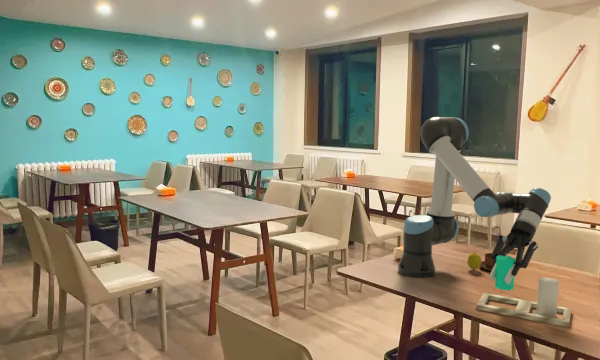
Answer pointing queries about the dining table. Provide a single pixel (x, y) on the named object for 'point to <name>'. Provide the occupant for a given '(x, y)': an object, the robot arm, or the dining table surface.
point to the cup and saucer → (487, 262)
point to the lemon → (474, 261)
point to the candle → (503, 272)
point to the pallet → (522, 309)
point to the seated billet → (547, 297)
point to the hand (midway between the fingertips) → (499, 280)
